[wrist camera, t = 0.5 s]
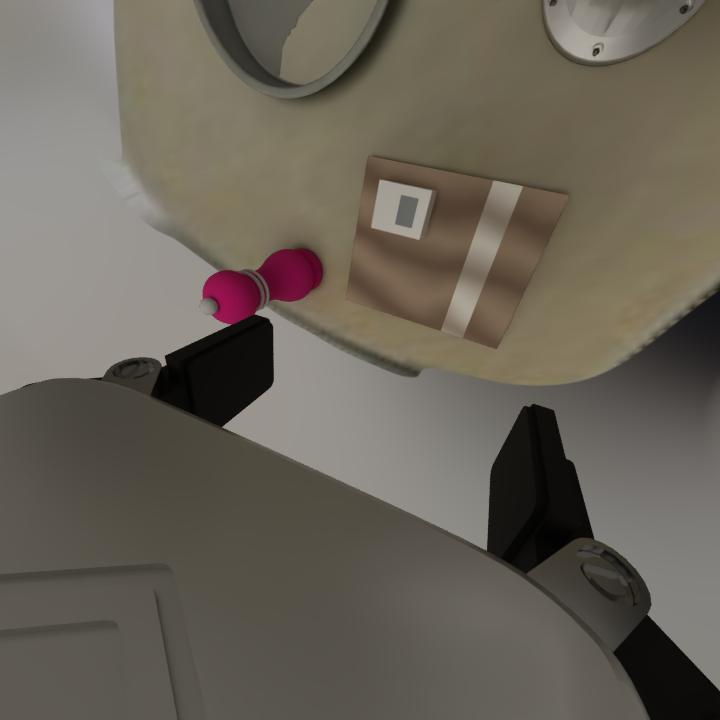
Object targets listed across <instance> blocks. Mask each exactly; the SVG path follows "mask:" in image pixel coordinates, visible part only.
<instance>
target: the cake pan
mask: <svg viewBox="0 0 720 720" xmlns="http://www.w3.org/2000/svg"><path fill="white" fill-rule="evenodd" d="M193 1H194V4H195V7H196V9H197V12H198V15H199V17H200V20H201V22H202V24H203V27H204V29H205V31H206V33H207V35H208V37H209V39H210V41H211V43H212V44H213V46H214V48H215V49H216V51H217V52H218V54H219V55H220V57H221V58H222V59H223V61H224V62H225V63H226V64H227V66H228V67H229V68H230V69H231V70H232V71H233V73H235V74H236V76H238V77H239V78H240V79H241V80H242V81H243V82H245V83H246V84H247V85H249V86H250V87H252V88H253V89H255V90H257V91H259V92H261V93H263V94H266V95H269V96H272V97H276V98H286V99H289V98H298V97H303V96H307V95H310V94H313V93H315V92H317V91H319V90H321V89H322V88H324V87H326V86H327V85H329V84H330V83H332V82H333V81H334V80H336V79H337V78H338V77H339V76H340V75H341V74H342V73H343V72H345V71H346V70H347V69H348V68H349V67H350V66H351V65H352V64H353V63H354V62H355V61H356V60H357V59H358V58H359V57H360V56H361V55H362V53H363V52H364V50H365V49H366V47H367V46H368V45H369V43H370V41H371V40H372V38H373V36H374V35H375V33H376V31H377V29H378V27H379V25H380V23H381V21H382V19H383V17H384V14H385V12H386V9H387V7H388V4H389V1H390V0H378V1H377V4H376V6H375V8H374V11H373V13H372V15H371V17H370V19H369V21H368V23H367V25H366V27H365V28H364V30H363V32H362V34H361V35H360V37H359V38H358V40H357V41H356V43H355V44H354V46H353V47H352V48H351V50H350V51H349V52H348V53H347V55H346V56H345V57H344V58H343V59H342V60H341V61H340V62H339V63H338V64H337V65H336V66H335V67H334V68H333V69H332V70H331V71H330V72H328V73H327V74H326V75H324V76H323V77H321V78H319V79H318V80H316V81H314V82H312V83H309V84H307V85H299V84H294V83H291V82H288V81H285V80H283V79H281V78H279V75H280V67H281V58H282V48H283V45H284V43H285V41H286V38H287V36H289V35H290V33H291V30H292V29H293V28H294V27H296V24H297V21H298V18H299V17H300V15H301V14H302V13H303V12H304V11H305V9H306V8H307V7H308V6H309V5H310V4H311V2H312V1H313V0H193Z"/></svg>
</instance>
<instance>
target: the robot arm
mask: <svg viewBox="0 0 720 720" xmlns="http://www.w3.org/2000/svg"><path fill="white" fill-rule="evenodd" d="M552 1H556V5H555V6H553V7H551V6H550V5H549V4H550V3H551V2H552ZM705 1H706V0H542V12H543V20H544V25H545V28H546V31H547V33H548V36H549V38H550V40H551V41H552V43H553V45H554V46H555V48H556V49H557V50H558V51H559V52H560V53H561V54H563V55H564V56H565V57H566V58H568V59H570V60H572V61H574V62H577V63H579V64H584V65H590V66H600V65H611V64H615V63H618V62H622V61H626V60H628V59H631V58H633V57H635V56H637V55H639V54H642V53H644V52H646V51H647V50H649V49H651V48H652V47H654V46H655V45H657V44H658V43H660V42H662V41H663V40H665V39H666V38H667V37H668V36H669V35H671V34H672V33H673V32H674V31H676V30H677V29H678V28H679V27H680V26H682V25H683V24H684V23H685V22H686V21H687V20H688V19H689V18H690V17H691V16H692V15H693V14H694V13H695V12H696V11H697V10H698V9H699V8H700V7H701V6H702V5H703V4H704V2H705ZM682 7H684V8H685V9H686V11H685V13H684V14H681V13H680V11H679V10H680V8H682ZM594 50H598V55H597V56H593V55H592V52H593V51H594ZM165 359H166V364H167V365H166V366H164V367H162V366H161V363H160V362H159V361H158V360H156V359H152V358H146V357H139V358H131V359H127V360H123V361H121V362H118V363H116V364H114V365H113V366H111V367H110V368H109V369H108V370H107V372H106V373H105V375H104V376H103V377H101V378H90V379H81V378H59V379H50V380H45V381H41V382H38V383H32V384H29V385H26V386H23V387H21V388H20V389H17V390H14V391H11V392H8V393H5V394H3V395H0V720H720V691H719V690H718V689H717V688H716V687H715V685H714V684H713V683H712V682H711V681H710V680H709V679H708V678H707V677H706V676H705V675H704V674H703V673H702V672H701V671H700V670H699V669H698V668H697V666H695V664H694V663H693V662H692V661H691V660H690V659H689V658H688V657H687V656H686V655H685V654H684V653H683V652H682V651H681V650H680V649H679V648H678V646H676V644H675V643H674V642H673V641H672V640H671V639H670V638H669V637H668V636H667V635H666V634H665V633H664V632H663V631H662V630H661V629H660V627H659V626H658V625H657V624H656V623H655V622H654V621H653V620H652V619H651V618H650V617H649V616H648V615H647V614H648V612H649V610H650V607H651V598H650V593H649V591H648V588H647V586H646V584H645V582H644V580H643V579H642V577H641V576H640V575H639V573H638V572H637V570H636V569H635V568H634V567H633V566H632V565H631V564H630V563H629V562H628V561H627V560H626V559H625V558H624V557H623V556H622V555H620V554H619V553H618V552H617V551H615V550H614V549H612V548H611V547H609V546H607V545H605V544H604V543H602V542H599V541H596V540H594V536H593V532H592V529H591V525H590V521H589V517H588V514H587V510H586V506H585V503H584V499H583V495H582V492H581V488H580V484H579V480H578V477H577V473H576V469H575V466H574V464H573V462H571V461H570V460H567V459H566V457H565V453H564V449H563V445H562V441H561V437H560V433H559V429H558V424H557V420H556V416H555V412H554V410H552V409H548V408H545V407H542V406H539V405H536V404H532V405H531V406H530V407H527V406H524V407H523V408H522V410H521V412H520V414H519V416H518V418H517V420H516V422H515V423H514V425H513V427H512V430H511V431H510V433H509V435H508V437H507V439H506V441H505V443H504V444H503V446H502V448H501V450H500V452H499V454H498V456H497V458H496V460H495V462H494V464H493V466H492V469H491V475H490V496H489V519H488V541H487V542H488V543H487V551H486V550H484V549H482V548H480V547H478V546H476V545H474V544H472V543H470V542H468V541H467V540H465V539H463V538H461V537H459V536H456V535H454V534H452V533H450V532H448V531H446V530H444V529H442V528H440V527H438V526H436V525H434V524H431V523H429V522H427V521H425V520H423V519H421V518H419V517H417V516H415V515H413V514H411V513H408V512H406V511H404V510H402V509H400V508H398V507H395V506H393V505H391V504H389V503H387V502H385V501H382V500H380V499H378V498H376V497H374V496H372V495H369V494H367V493H365V492H363V491H361V490H359V489H356V488H354V487H352V486H350V485H348V484H345V483H343V482H341V481H339V480H336V479H335V478H333V477H330V476H328V475H326V474H324V473H321V472H319V471H317V470H315V469H313V468H311V467H308V466H306V465H304V464H302V463H300V462H297V461H295V460H293V459H291V458H289V457H287V456H284V455H282V454H280V453H278V452H275V451H273V450H271V449H269V448H267V447H264V446H262V445H260V444H258V443H256V442H253V441H251V440H249V439H247V438H244V437H242V436H240V435H238V434H236V433H233V432H231V431H229V430H227V429H224V428H222V427H223V426H224V425H225V424H226V423H227V422H229V421H230V420H231V419H232V418H234V417H235V416H236V415H237V414H239V413H240V412H241V411H242V410H243V409H245V408H246V407H247V406H248V405H250V404H251V403H252V402H253V401H254V400H256V399H257V398H258V397H259V396H261V395H262V394H263V393H264V392H266V391H267V390H268V389H269V388H270V387H271V386H272V384H273V381H274V368H273V367H274V365H273V363H274V362H273V325H272V324H271V323H270V320H269V319H268V318H265V317H262V316H258V315H252V316H249V317H247V318H245V319H243V320H241V321H239V322H237V323H234V324H232V325H230V326H228V327H226V328H224V329H222V330H220V331H217V332H215V333H213V334H211V335H209V336H207V337H205V338H203V339H200V340H198V341H196V342H194V343H192V344H189V345H187V346H185V347H183V348H181V349H179V350H177V351H174V352H172V353H170V354H168V355H166V356H165Z"/></svg>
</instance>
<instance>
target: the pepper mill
mask: <svg viewBox="0 0 720 720" xmlns="http://www.w3.org/2000/svg"><path fill="white" fill-rule="evenodd" d="M322 275H323V271H322V266H321V263H320V261H319V259H318V258H317V256H316V255H315V254H314V253H312V252H311V251H309V250H307V249H297V250H291V249H282V250H279V251H277V252H275V253H273V254H272V255H270V256H269V257H268V258H267V259H266V260H265V262H264V263H263V264H262V266H261V267H260V268H259V269H258V270H256V271H254V270H251V269H244V270H241V271H237V272H236V271H232V270H224V271H220V272H217V273H215V274H213V275H212V276H211V277H209V278H208V280H207V281H206V282H205V285H204V287H203V300H201V302H200V304H199V308H200V310H201V311H202V312H203V313H204V314H206V315H212V316H213V317H214V318H216V319H217V320H219V321H221V322H223V323H227V324H234V323H237V322H239V321H241V320H243V319H245V318H247V317H249V316H252V315H254V314H255V312H256V311H258V310H260V309H263V308H264V307H265V306H266V305H267V304H268V301H271V300H274V299H276V300H280V301H286V302H292V301H297V300H300V299H302V298H304V297H305V296H306V295H307V294H308V293H309V292H310V291H311V290H313V289H315V288H316V287H317V286H318V285H319V284H320V282H321V280H322Z"/></svg>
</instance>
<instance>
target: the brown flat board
mask: <svg viewBox="0 0 720 720" xmlns="http://www.w3.org/2000/svg"><path fill="white" fill-rule="evenodd" d="M379 180H388V181H393V182H398V183H403V184H407V185H412V186H417V187H421V188H426V189H431V190H435V191H437V194H436V198H435V202H434V205H433V209H432V213H431V216H430V220H429V224H428V227H427V231H426V235H425V237H424V238H422V239H420V240H417V239H414V238H410V237H406V236H402V235H398V234H394V233H390V232H386V231H382V230H379V229H375V228H371V225H372V220H373V214H374V208H375V203H376V197H377V192H378V186H379ZM569 197H570V195H565V194H560V193H555V192H550V191H545V190H540V189H535V188H530V187H525V186H519V185H514V184H509V183H504V182H499V181H494V180H489V179H484V178H479V177H474V176H468V175H463V174H458V173H453V172H448V171H443V170H438V169H433V168H428V167H422V166H417V165H412V164H407V163H402V162H397V161H392V160H387V159H382V158H377V157H371V156H368V159H367V165H366V172H365V178H364V185H363V191H362V198H361V204H360V210H359V217H358V223H357V230H356V236H355V243H354V249H353V256H352V262H351V268H350V275H349V281H348V288H347V294H346V300H348V301H351V302H354V303H357V304H360V305H363V306H366V307H370V308H373V309H376V310H379V311H382V312H385V313H388V314H391V315H394V316H397V317H400V318H403V319H406V320H409V321H412V322H415V323H418V324H421V325H425V326H428V327H431V328H434V329H437V330H440V331H443V332H446V333H449V334H452V335H455V336H458V337H461V338H464V339H467V340H470V341H473V342H476V343H479V344H483V345H486V346H489V347H492V348H495V349H497V348H498V345H499V343H500V341H501V339H502V337H503V335H504V333H505V331H506V329H507V327H508V324H509V322H510V320H511V318H512V316H513V314H514V312H515V310H516V308H517V306H518V304H519V301H520V299H521V297H522V295H523V293H524V291H525V289H526V287H527V285H528V283H529V280H530V278H531V276H532V274H533V272H534V270H535V268H536V266H537V264H538V262H539V260H540V257H541V255H542V253H543V251H544V249H545V247H546V245H547V243H548V241H549V239H550V236H551V234H552V232H553V230H554V228H555V226H556V224H557V222H558V220H559V218H560V216H561V213H562V211H563V209H564V207H565V205H566V203H567V201H568V199H569Z"/></svg>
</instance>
